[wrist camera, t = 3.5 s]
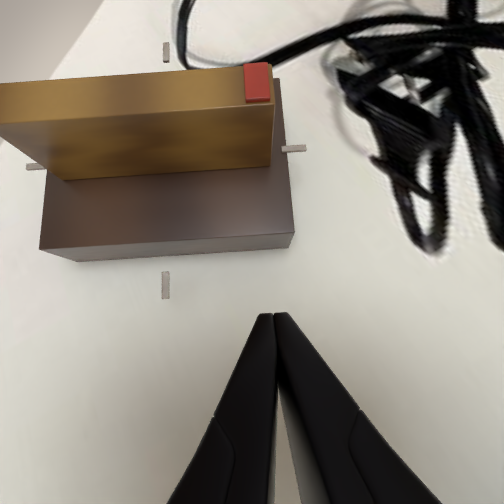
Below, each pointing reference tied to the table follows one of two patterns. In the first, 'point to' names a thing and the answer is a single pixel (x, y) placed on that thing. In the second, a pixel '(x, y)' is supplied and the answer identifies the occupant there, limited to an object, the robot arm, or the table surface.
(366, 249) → the table surface
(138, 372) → the table surface
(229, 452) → the robot arm
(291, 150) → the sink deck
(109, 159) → the tan wooden plank
